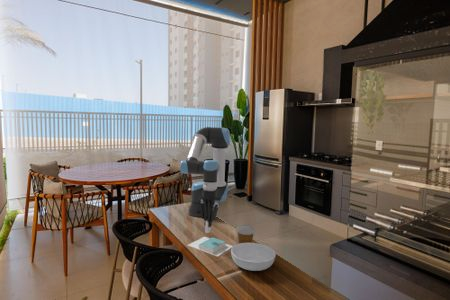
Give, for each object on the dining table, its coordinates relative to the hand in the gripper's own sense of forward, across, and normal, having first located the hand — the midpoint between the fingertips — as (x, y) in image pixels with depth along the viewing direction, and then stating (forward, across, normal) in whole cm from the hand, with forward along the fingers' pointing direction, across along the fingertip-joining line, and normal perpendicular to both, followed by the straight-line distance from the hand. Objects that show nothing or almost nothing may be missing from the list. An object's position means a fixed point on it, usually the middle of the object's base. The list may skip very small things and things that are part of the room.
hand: (207, 232), depth 146 cm
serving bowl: (+8, +29, -3) cm, 30 cm away
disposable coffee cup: (+8, +18, +9) cm, 22 cm away
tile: (+6, 0, -1) cm, 6 cm away
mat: (+8, +2, 0) cm, 8 cm away
